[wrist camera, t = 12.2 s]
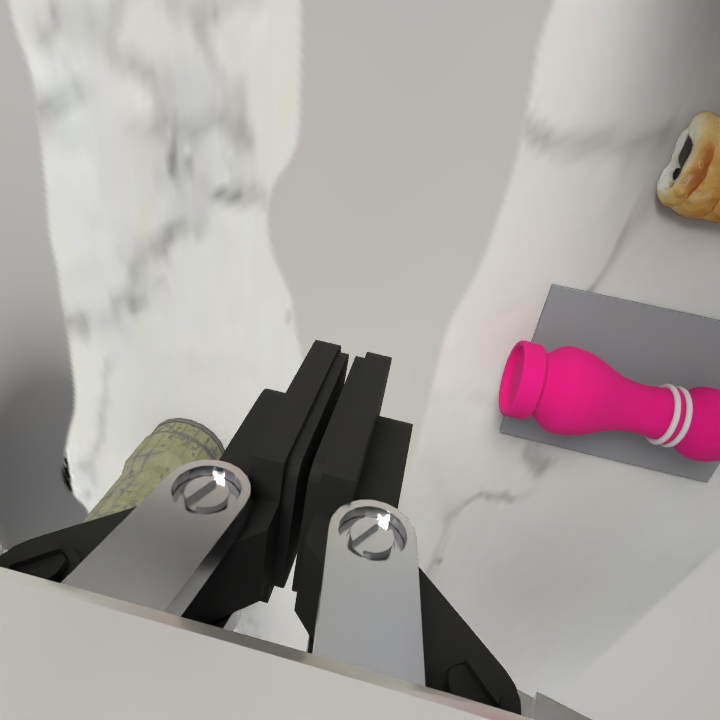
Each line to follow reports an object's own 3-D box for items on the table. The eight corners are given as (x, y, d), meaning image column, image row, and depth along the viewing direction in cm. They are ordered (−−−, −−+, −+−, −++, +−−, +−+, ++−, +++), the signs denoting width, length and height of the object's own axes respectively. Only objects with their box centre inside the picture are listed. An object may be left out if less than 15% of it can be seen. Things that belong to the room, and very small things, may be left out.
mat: (552, 283, 46) (552, 286, 45) (794, 336, 44) (797, 339, 44) (499, 429, 53) (499, 432, 53) (705, 478, 52) (707, 482, 51)
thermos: (142, 471, 65) (-146, 836, 35) (161, 394, 59) (-170, 757, 29) (213, 501, 66) (-14, 889, 36) (239, 428, 59) (-9, 822, 29)
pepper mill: (534, 343, 41) (803, 408, 41) (515, 327, 48) (744, 382, 48) (506, 433, 43) (764, 497, 43) (491, 406, 50) (713, 460, 50)
